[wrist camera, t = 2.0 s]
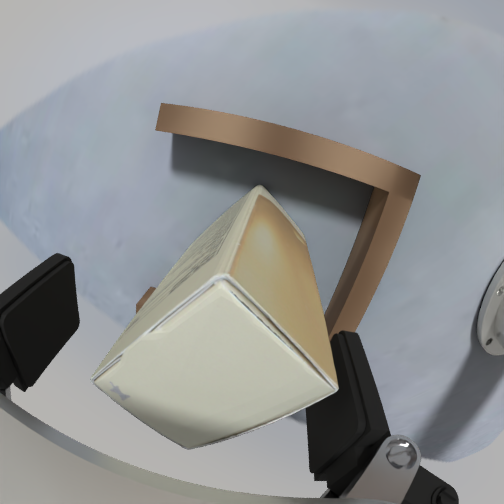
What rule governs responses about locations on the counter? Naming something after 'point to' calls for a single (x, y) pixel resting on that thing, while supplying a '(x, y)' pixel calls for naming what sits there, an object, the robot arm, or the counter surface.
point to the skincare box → (226, 333)
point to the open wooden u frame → (332, 159)
